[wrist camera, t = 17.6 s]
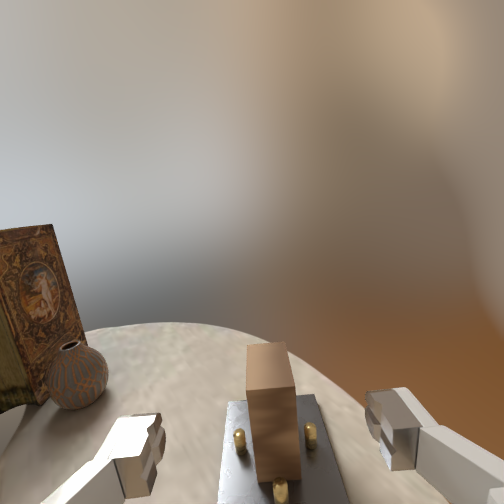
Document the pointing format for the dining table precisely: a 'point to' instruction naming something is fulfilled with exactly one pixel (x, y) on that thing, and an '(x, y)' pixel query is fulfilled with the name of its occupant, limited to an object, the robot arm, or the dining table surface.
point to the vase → (77, 376)
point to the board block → (272, 412)
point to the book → (32, 313)
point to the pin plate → (280, 490)
